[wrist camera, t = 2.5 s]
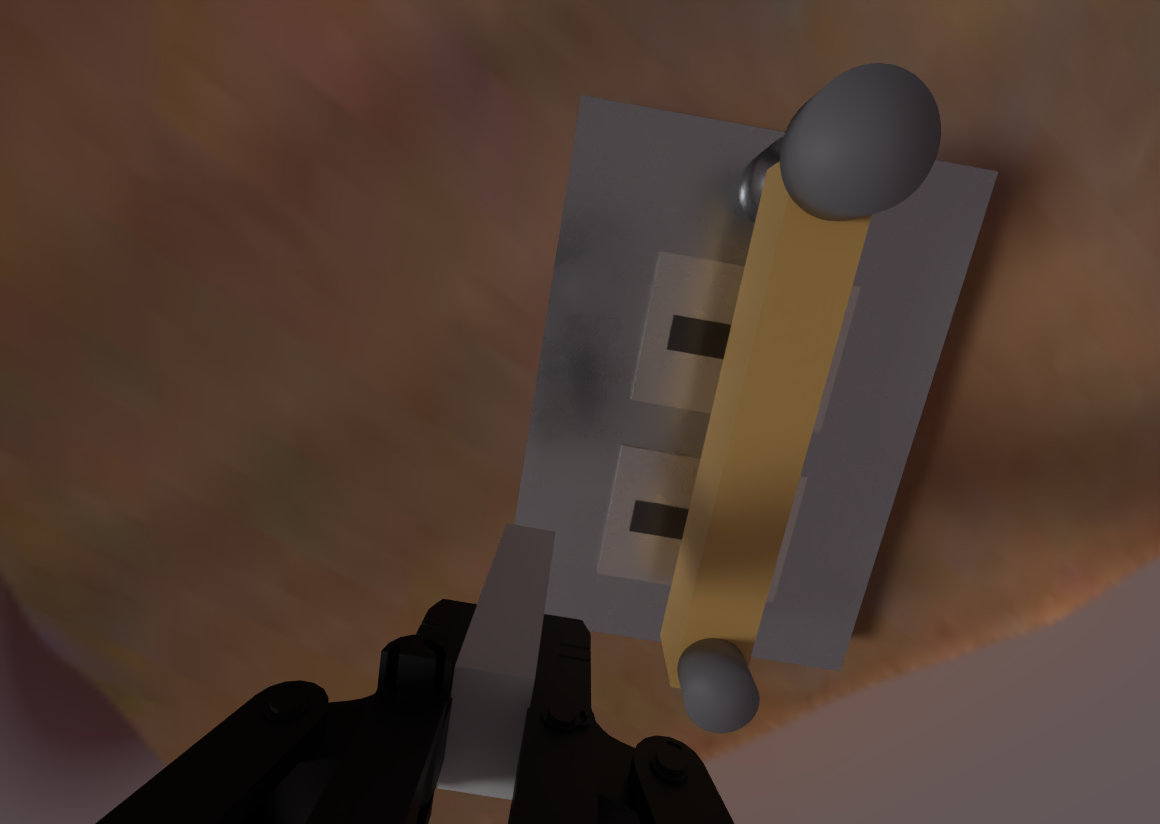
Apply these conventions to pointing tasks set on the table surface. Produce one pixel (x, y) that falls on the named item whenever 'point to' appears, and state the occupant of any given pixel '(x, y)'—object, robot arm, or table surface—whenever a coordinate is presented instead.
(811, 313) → the yellow wooden bar
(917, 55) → the table surface
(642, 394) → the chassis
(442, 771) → the robot arm
